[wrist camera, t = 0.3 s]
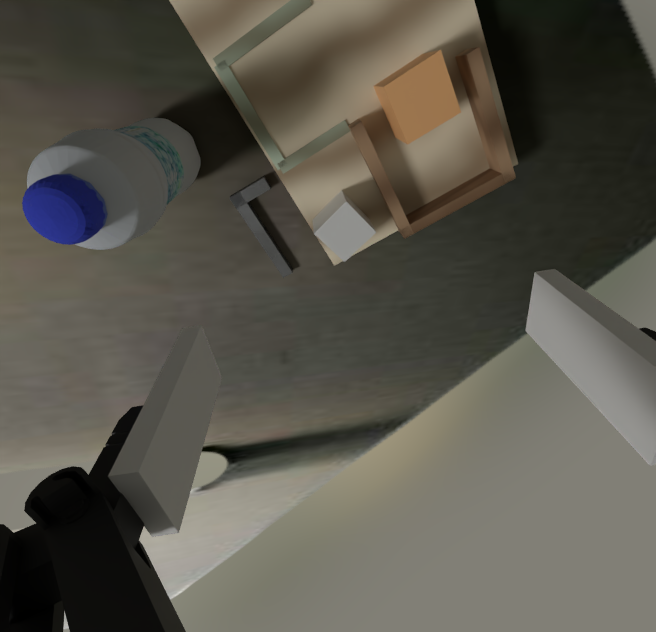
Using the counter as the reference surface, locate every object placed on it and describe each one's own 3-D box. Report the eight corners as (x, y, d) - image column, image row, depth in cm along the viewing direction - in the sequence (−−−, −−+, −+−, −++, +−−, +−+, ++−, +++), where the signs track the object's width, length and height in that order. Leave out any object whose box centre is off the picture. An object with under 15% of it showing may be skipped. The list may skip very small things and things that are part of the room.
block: (312, 219, 37) (313, 233, 33) (341, 190, 36) (346, 201, 32) (340, 246, 39) (344, 262, 35) (369, 218, 37) (376, 232, 34)
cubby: (347, 125, 33) (351, 128, 31) (466, 49, 30) (479, 46, 28) (398, 230, 38) (404, 238, 36) (502, 172, 36) (515, 177, 34)
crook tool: (231, 194, 38) (229, 198, 37) (264, 174, 37) (263, 177, 36) (283, 273, 43) (283, 277, 42) (314, 256, 42) (314, 261, 41)
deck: (144, -49, 28) (131, -61, 26) (386, -259, 24) (396, -296, 21) (332, 256, 42) (334, 266, 39) (505, 159, 37) (519, 164, 35)
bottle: (129, 105, 33) (-50, 131, 16) (207, 121, 34) (117, 160, 17) (134, 183, 36) (-8, 272, 19) (206, 195, 37) (129, 289, 20)
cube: (373, 86, 31) (383, 86, 27) (422, 53, 30) (440, 49, 26) (395, 137, 33) (407, 144, 30) (442, 108, 32) (461, 112, 29)
